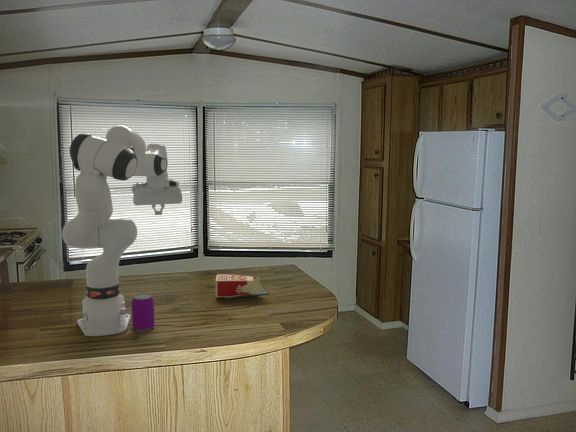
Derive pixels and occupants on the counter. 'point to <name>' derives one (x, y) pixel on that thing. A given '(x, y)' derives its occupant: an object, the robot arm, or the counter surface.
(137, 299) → the beverage can
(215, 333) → the counter surface
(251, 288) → the milk carton
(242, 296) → the mat
